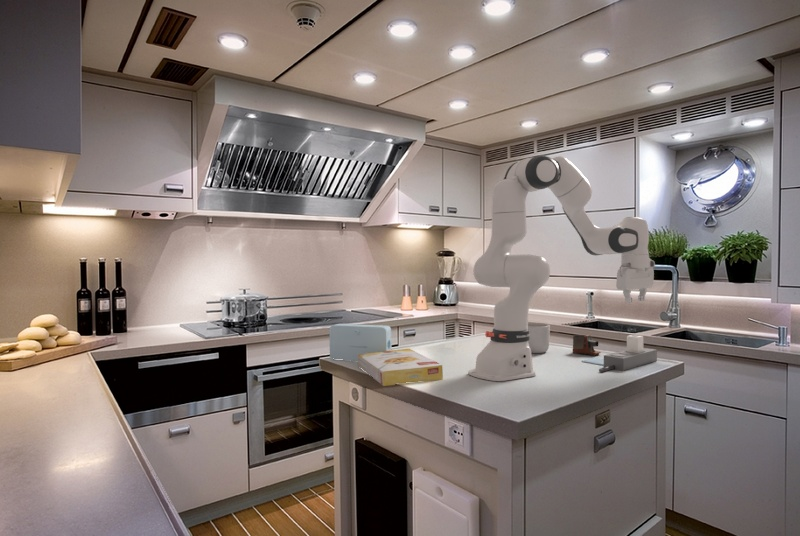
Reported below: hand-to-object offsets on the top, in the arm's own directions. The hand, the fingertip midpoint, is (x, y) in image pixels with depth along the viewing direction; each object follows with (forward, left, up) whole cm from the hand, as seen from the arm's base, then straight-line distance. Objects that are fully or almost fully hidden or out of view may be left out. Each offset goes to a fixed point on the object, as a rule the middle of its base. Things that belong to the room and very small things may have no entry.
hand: (635, 301), depth 173 cm
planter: (-10, +36, -22) cm, 43 cm away
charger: (0, 0, -19) cm, 19 cm away
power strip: (-7, 0, -22) cm, 23 cm away
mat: (-9, +9, -22) cm, 25 cm away
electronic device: (+1, +20, -22) cm, 30 cm away
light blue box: (-73, +68, -22) cm, 102 cm away
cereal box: (-74, +43, -23) cm, 89 cm away
